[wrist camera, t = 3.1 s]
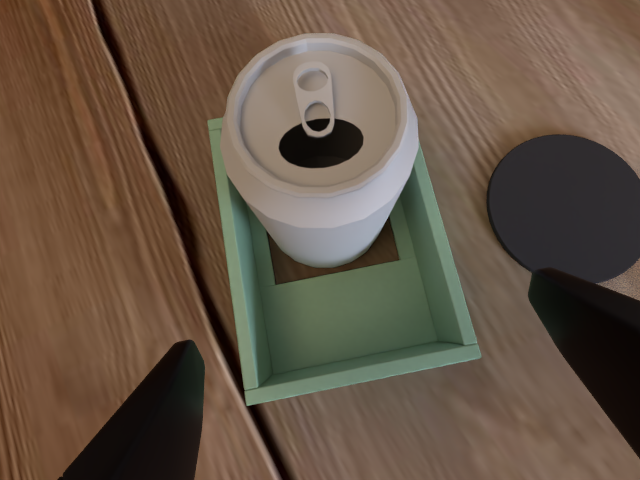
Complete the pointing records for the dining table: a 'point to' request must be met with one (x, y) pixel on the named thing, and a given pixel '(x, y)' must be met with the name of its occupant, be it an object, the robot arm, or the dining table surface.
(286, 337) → the green open box
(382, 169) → the can
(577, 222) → the coaster
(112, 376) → the dining table surface
